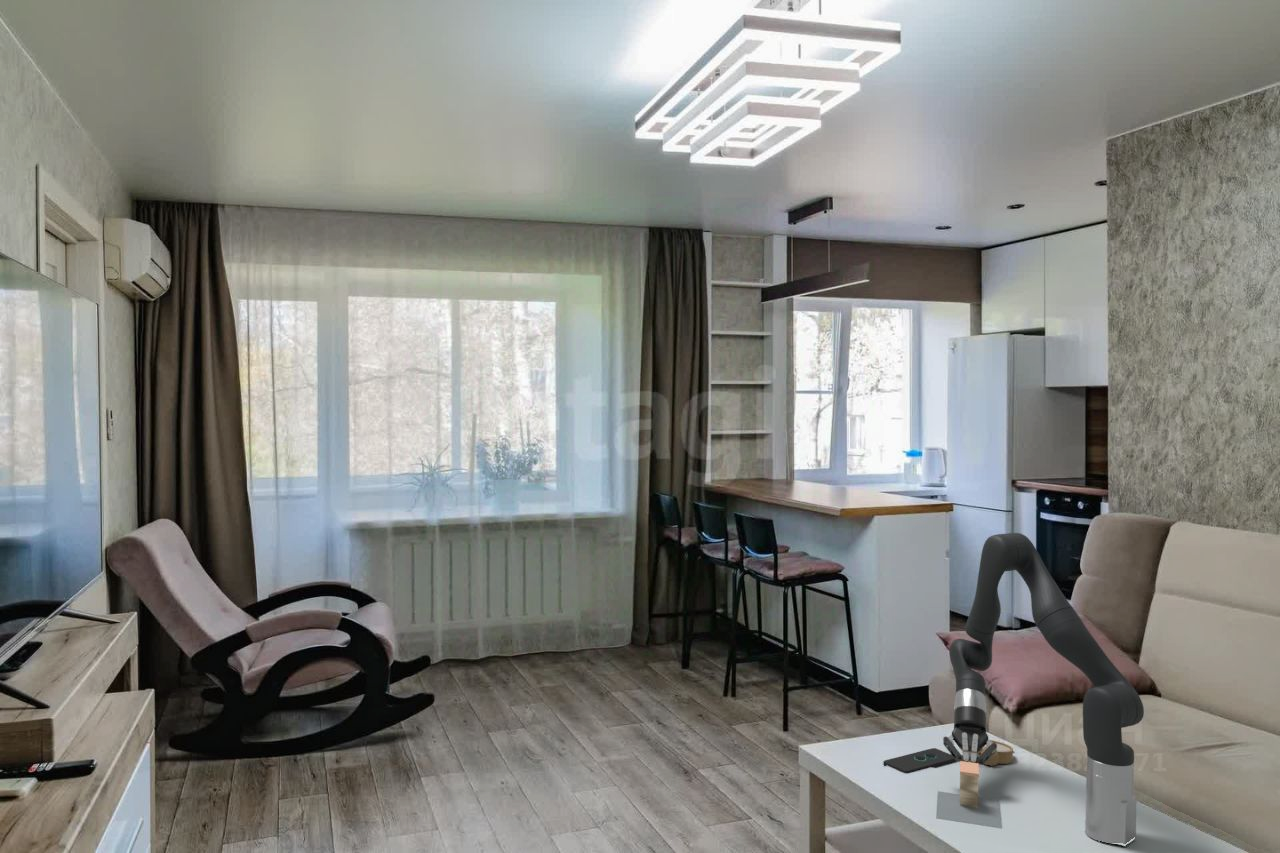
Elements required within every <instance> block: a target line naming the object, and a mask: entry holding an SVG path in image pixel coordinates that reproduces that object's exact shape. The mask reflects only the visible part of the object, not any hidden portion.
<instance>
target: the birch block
mask: <svg viewBox="0 0 1280 853" xmlns="http://www.w3.org/2000/svg"><path fill="white" fill-rule="evenodd" d="M979 766H980V764H979V763H971V762H970V761H969V762H964V761H960V762H959V794H960V805H963V806H970V807H976V808H978V797H979V777H980V768H979Z"/></svg>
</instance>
